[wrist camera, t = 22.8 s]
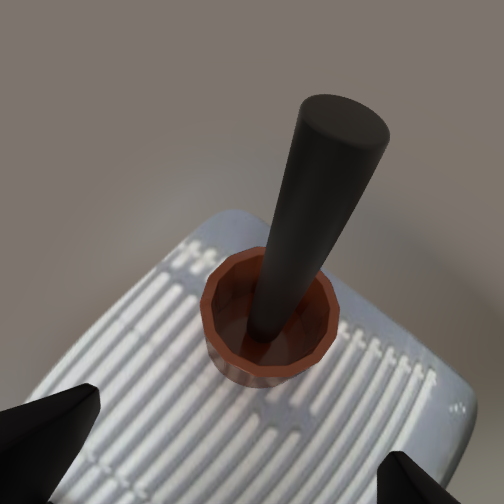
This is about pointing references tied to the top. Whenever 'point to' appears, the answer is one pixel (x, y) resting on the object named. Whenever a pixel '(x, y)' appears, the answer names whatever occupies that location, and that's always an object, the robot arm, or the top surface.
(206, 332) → the pencil cup
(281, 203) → the stylus
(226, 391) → the top surface
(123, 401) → the top surface
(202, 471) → the top surface
